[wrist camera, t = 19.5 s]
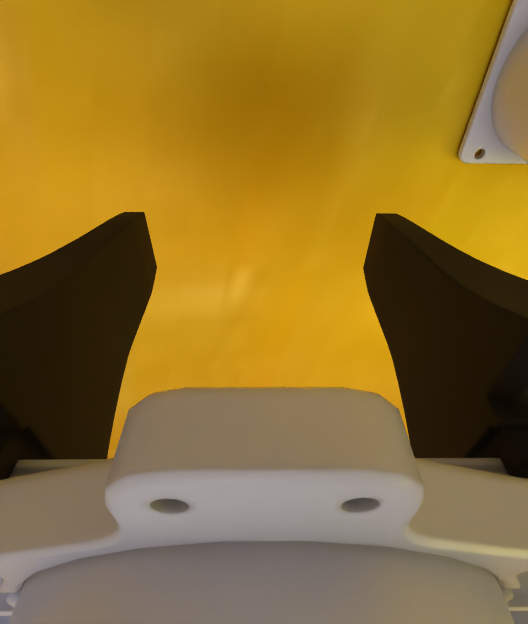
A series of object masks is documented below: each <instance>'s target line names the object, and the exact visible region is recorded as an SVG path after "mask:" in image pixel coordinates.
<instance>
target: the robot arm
mask: <svg viewBox="0 0 528 624" xmlns="http://www.w3.org/2000/svg"><path fill="white" fill-rule="evenodd" d="M479 149H482V152H481V154H480V155H478V156H475V153H476V152H477V151H478V150H479ZM458 157H459V159H460V160H461V161H462V162H464V163H490V164H528V0H513V2H512V5H511V8H510V10H509V13H508V16H507V19H506V21H505V24H504V27H503V30H502V32H501V35H500V38H499V41H498V44H497V46H496V49H495V52H494V55H493V57H492V60H491V63H490V66H489V69H488V71H487V74H486V77H485V80H484V82H483V85H482V88H481V91H480V93H479V96H478V99H477V102H476V105H475V107H474V110H473V113H472V116H471V118H470V121H469V124H468V127H467V130H466V132H465V135H464V138H463V141H462V143H461V146H460V149H459V152H458ZM156 269H157V266H156V261H155V257H154V253H153V248H152V244H151V239H150V235H149V231H148V226H147V222H146V218H145V213H144V212H123V213H121V214H119V215H117V216H115V217H113V218H111V219H109V220H108V221H106V222H104V223H103V224H101V225H99V226H98V227H96V228H94V229H93V230H91V231H90V232H88V233H86V234H85V235H83V236H81V237H80V238H78V239H76V240H74V241H72V242H71V243H69V244H67V245H65V246H63V247H61V248H60V249H58V250H56V251H54V252H52V253H50V254H48V255H46V256H44V257H42V258H40V259H38V260H36V261H34V262H31V263H29V264H27V265H24V266H22V267H20V268H17V269H15V270H12V271H10V272H7V273H4V274H1V275H0V624H528V280H525V279H522V278H520V277H517V276H514V275H512V274H509V273H507V272H504V271H502V270H500V269H497V268H495V267H493V266H491V265H488V264H486V263H484V262H482V261H480V260H477V259H475V258H473V257H471V256H470V255H468V254H466V253H464V252H462V251H460V250H458V249H456V248H455V247H453V246H451V245H449V244H448V243H446V242H444V241H442V240H441V239H439V238H437V237H436V236H434V235H433V234H431V233H429V232H428V231H426V230H424V229H423V228H421V227H420V226H418V225H416V224H415V223H413V222H411V221H410V220H408V219H406V218H404V217H402V216H400V215H398V214H380V213H376V217H375V221H374V225H373V229H372V233H371V238H370V242H369V246H368V250H367V254H366V259H365V263H364V267H363V269H364V274H365V280H366V285H367V289H368V293H369V296H370V299H371V302H372V304H373V307H374V310H375V312H376V315H377V318H378V320H379V323H380V325H381V328H382V331H383V333H384V336H385V339H386V341H387V344H388V347H389V350H390V353H391V356H392V359H393V363H394V368H395V372H396V376H397V380H398V384H399V389H400V393H401V398H402V403H403V407H404V412H405V417H406V423H407V428H408V434H409V439H410V442H409V439H408V436H407V433H406V430H405V427H404V424H403V421H402V418H401V415H400V412H399V409H398V408H396V407H395V406H394V405H392V404H391V403H390V402H388V401H387V400H386V399H384V398H383V397H382V396H381V395H379V394H376V393H373V392H368V391H362V390H356V389H350V388H344V387H186V388H180V389H174V390H168V391H162V392H156V393H153V394H150V395H148V396H147V397H146V398H144V399H143V400H142V401H140V402H139V403H138V404H136V405H135V406H133V407H132V408H131V409H129V411H128V415H127V418H126V421H125V424H124V427H123V431H122V434H121V437H120V440H119V444H118V447H117V450H116V453H115V456H114V458H112V459H107V455H108V449H109V443H110V437H111V432H112V427H113V421H114V416H115V411H116V406H117V401H118V397H119V392H120V388H121V383H122V379H123V375H124V371H125V367H126V363H127V359H128V355H129V352H130V349H131V346H132V343H133V341H134V338H135V335H136V333H137V330H138V328H139V325H140V322H141V320H142V317H143V315H144V312H145V309H146V307H147V304H148V301H149V299H150V296H151V293H152V289H153V285H154V280H155V274H156Z"/></svg>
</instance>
